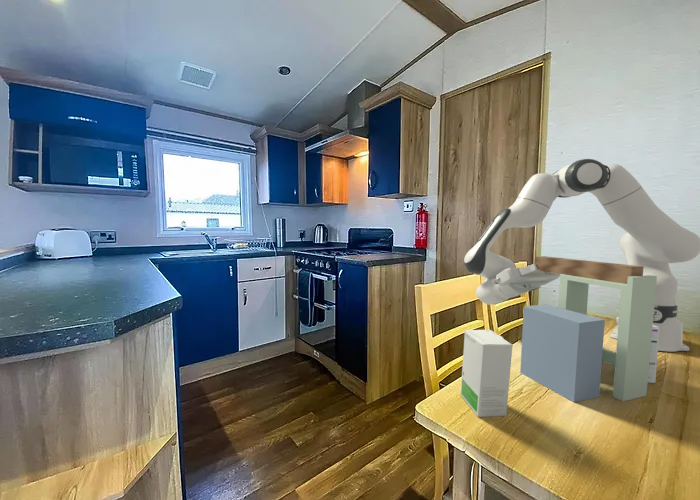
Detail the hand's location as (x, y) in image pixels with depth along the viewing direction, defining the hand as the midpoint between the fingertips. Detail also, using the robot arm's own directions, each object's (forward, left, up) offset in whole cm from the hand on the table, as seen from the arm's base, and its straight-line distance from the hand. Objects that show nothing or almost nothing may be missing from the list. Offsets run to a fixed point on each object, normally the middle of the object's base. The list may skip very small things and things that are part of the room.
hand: (549, 265), depth 86 cm
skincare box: (+37, -8, -28) cm, 47 cm away
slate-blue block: (+16, +4, -28) cm, 32 cm away
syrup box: (-1, +20, -28) cm, 34 cm away
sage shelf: (+8, +12, -28) cm, 31 cm away
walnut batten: (+5, +7, -2) cm, 9 cm away
